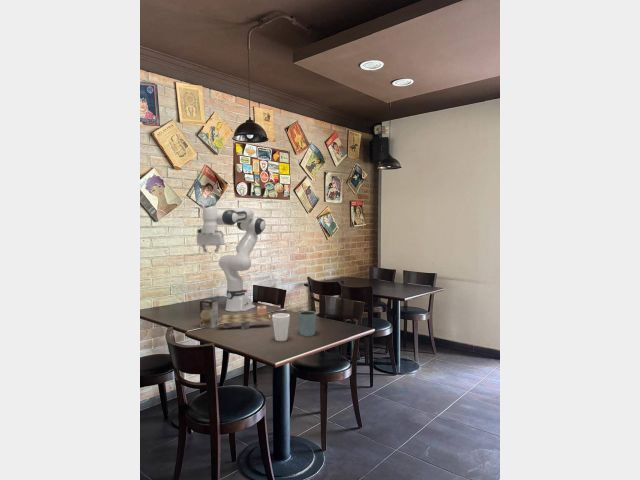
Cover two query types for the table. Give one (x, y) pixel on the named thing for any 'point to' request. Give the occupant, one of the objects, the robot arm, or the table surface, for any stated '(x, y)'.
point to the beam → (242, 319)
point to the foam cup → (281, 326)
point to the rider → (261, 310)
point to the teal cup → (307, 323)
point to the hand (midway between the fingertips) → (210, 252)
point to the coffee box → (208, 313)
